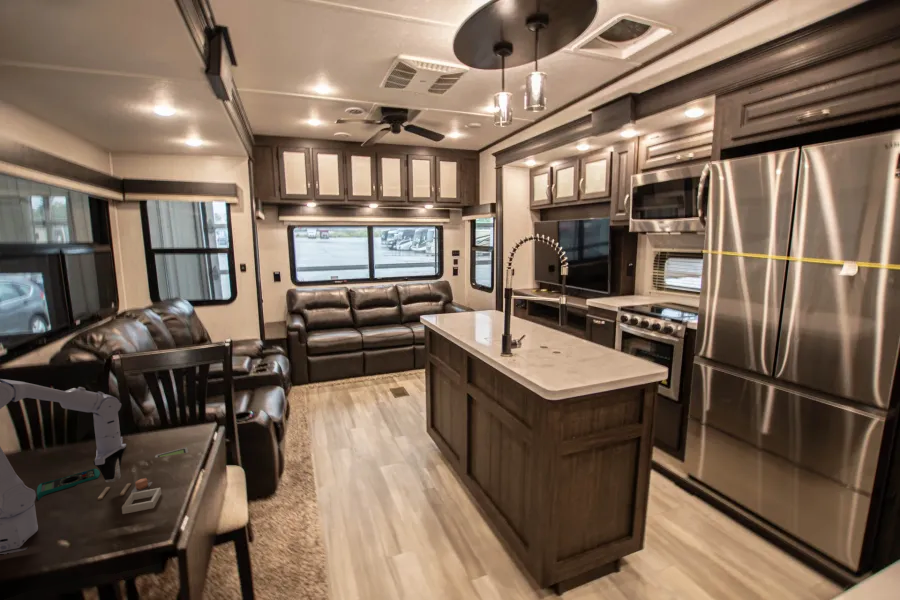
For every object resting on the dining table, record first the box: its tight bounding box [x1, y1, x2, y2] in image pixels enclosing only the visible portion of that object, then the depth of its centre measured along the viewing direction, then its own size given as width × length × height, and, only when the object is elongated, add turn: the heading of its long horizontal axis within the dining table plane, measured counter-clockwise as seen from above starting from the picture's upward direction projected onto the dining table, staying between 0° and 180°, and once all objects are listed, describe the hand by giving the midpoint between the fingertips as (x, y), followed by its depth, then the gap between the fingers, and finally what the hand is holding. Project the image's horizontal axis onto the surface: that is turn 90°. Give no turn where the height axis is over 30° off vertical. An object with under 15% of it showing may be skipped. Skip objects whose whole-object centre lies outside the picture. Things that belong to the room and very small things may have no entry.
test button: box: [135, 477, 149, 490], centre depth 127 cm, size 3×3×2 cm
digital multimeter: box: [36, 468, 101, 501], centre depth 131 cm, size 7×15×3 cm, turn 133°
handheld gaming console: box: [154, 447, 189, 459], centre depth 146 cm, size 10×2×15 cm
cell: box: [104, 458, 122, 483], centre depth 124 cm, size 4×4×6 cm
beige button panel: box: [97, 481, 153, 501], centre depth 126 cm, size 11×14×2 cm
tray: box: [121, 487, 162, 515], centre depth 119 cm, size 7×7×4 cm
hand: (112, 475), depth 124 cm, fingers closed on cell, 4 cm apart
